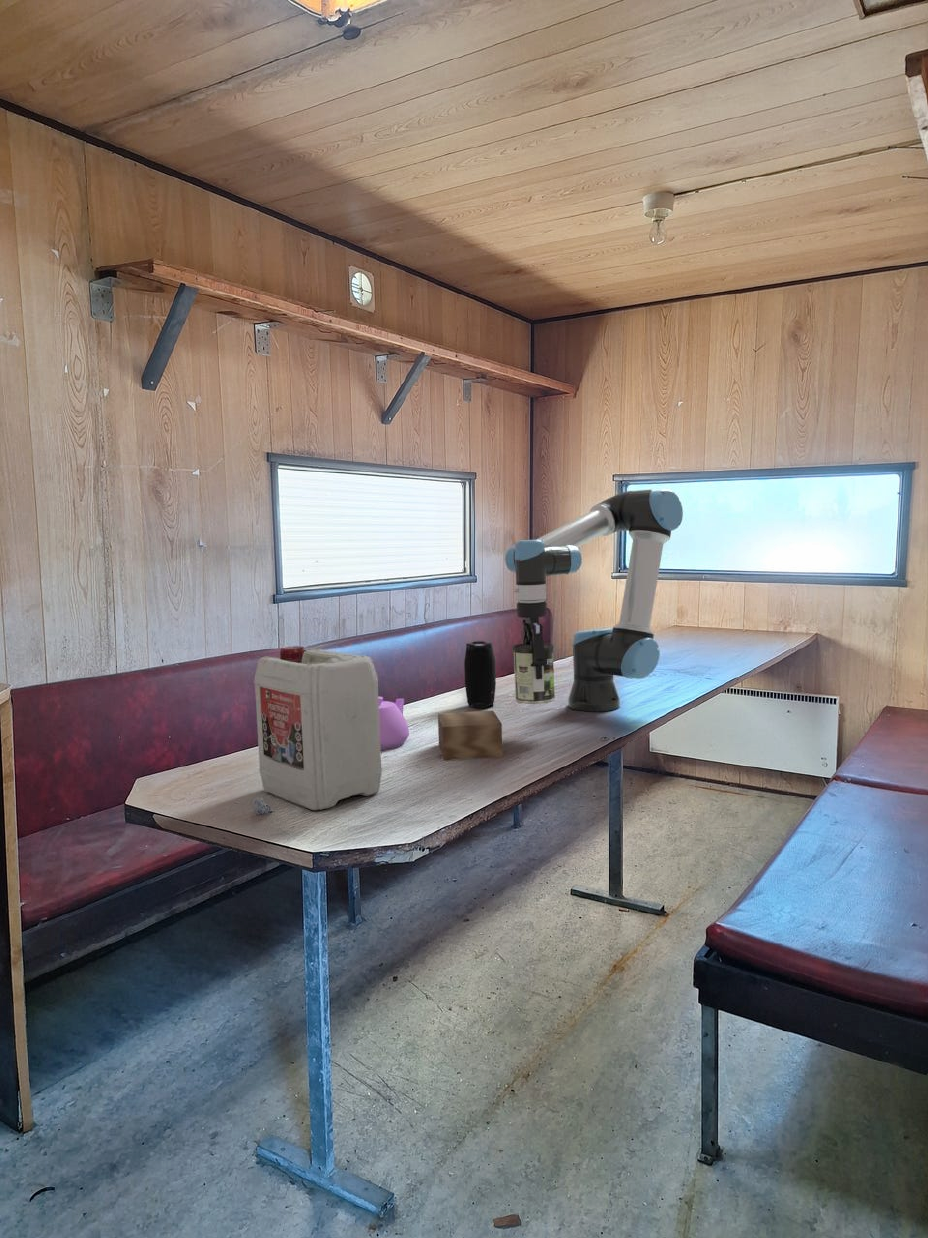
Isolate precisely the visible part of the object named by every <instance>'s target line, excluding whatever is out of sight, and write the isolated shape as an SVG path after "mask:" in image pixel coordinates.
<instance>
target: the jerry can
mask: <svg viewBox="0 0 928 1238" xmlns="http://www.w3.org/2000/svg"><path fill="white" fill-rule="evenodd" d="M279 657H280V658H277V657H271V656H267V655H264V656H262V657H261V658H260V659H258V661H257V666H256V670H255V675H254V680H253V683H254V692H255V708H256V724H257V742H258V744H257V745H258V746H257V747H258V758H259V759H258V760H259V763H258V764H259V768H258V770H259V774H260V775H259V776H260V779H261V783H262V786H263V788H262V789H263V790H264V792H266V793H268V794H271V795H272V796H273V795H274V796H276V797H278V796H279V798H281V797H282V798H281V799H284V800H286V801H288V802H291V803H294V804H296V805H299V806H301V807H304V808H306V809H308V810H312V811H319V810H321V811H322V810H324V809H326V810H327V809H330V808H333V807H334V806H336V805H337V803H338V802H339V801H340V800H343V799H346V798H349V797H351V796H356V795H359V796H363V797H364V796H365V797H369V796H372V795H374V794H376V793H378V792H379V791H380V788H381V782H382V781H381V779H382V773H383V767H382V756H381V750H380V730H379V704H378V696H379V678H378V675H377V671H376V668H375V665H374V662H373V659H372V657H370V656H367V655H364V654H362V655H359V654H353V653H346V652H339V651H333V650H328V649H327V650H326V649H322V648H320V647H319V648H318V647H317V648H315V649H314V648H313V649H310V650H309V649H308V650H305V648H304V646H300V645H299V646H294V645H293V646H287V647H281V648H280V651H279Z"/></svg>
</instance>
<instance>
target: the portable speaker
mask: <svg viewBox="0 0 928 1238" xmlns="http://www.w3.org/2000/svg"><path fill="white" fill-rule="evenodd" d="M465 645H466V648H465V654H464V667H463V669H464V670H463V671H464V688H465V693H466V694H465V695H466V703H467V705H468V707H472V708H473V709H474V708H476V709H475V710H479V709H480V710H481V709H482V710H483V708H484V709H486V708H487V707H488V706H491V707H494V703H495V696H496V685H497V684H496V683H497V681H496V680H497V679H496V659H495V652H494V650H493V642H486V641H484V640H476V641H475V640H473V641H472V642H470V643H468V642H467V643H465Z"/></svg>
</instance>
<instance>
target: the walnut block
mask: <svg viewBox="0 0 928 1238" xmlns="http://www.w3.org/2000/svg"><path fill="white" fill-rule="evenodd" d="M502 725H503V724H502V722H501V720H500V719H499V717H498V715H497V714H496V713H495V711H494V710H482V711H481V710H479V711H477V710H475V711H462V712H461V711H459V712H441V713H437V728H438V746H440V747H439V749H440V753H442V754H441V757H442V760H443V761H449V760H448V759H457V760H470V758H474V759H488V758H489V759H491V758H501V757H504V756H503V729H502V728H503V727H502Z"/></svg>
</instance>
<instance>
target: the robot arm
mask: <svg viewBox="0 0 928 1238" xmlns="http://www.w3.org/2000/svg"><path fill="white" fill-rule="evenodd" d="M683 513H684V511H683V505H682V502H681V500H680V498H679V496H678V494H676V492H675V491H673V490H671V489H669V488H653V489H652V488H651V489H642V490H641V489H637V490H627V491H623V492H621V493H617V494H615V495H613V496H611V497H609V498H606V499H605V500H603V501H601V502H599V503H597V504H594V505H592V507H591V508H590V510H589V511H588V512H587V513H585V514H583V515H581V516H578V517H577V518H575V519H573V520H571V521H569V522H568V523H566V524H563V525H562V526H560V527H558V528H556V529H554V530H552V531H550V532H549V533H546V534H544V535H541V536H540V537H538V538H537V539H523V540H518V541H516V543H515V544H514V545H513V546H511V547H509V548H508V549H507V550H506V553H505V556H504V561H505V566H506V567H507V569H508V570H509V571H510V572H512V573H515V585H516V586H515V587H516V588H514V590H513V591H514V593H516V600H517V601H518V602H517V603H516V615H517V617H519V618H521V619H522V621H521V622H522V644H526V645H531V649H532V658H533V663H531V665H530V666H531V667H532V674H533V692H541V691H544V665H545V663H546V662H545V654H544V643H545V642H544V635H543V634H544V633H543V632H544V631H543V629H544V626H543V624H541V623H540V618H543V617H546V616H547V613H548V612H547V610H548V609H547V604H548V603H547V602H546V601H545V600H547V577H548V576H558V575H559V576H560V575H569V574H573V573H577V572H578V571H579V569H580V568H581V566H582V563H583V562H582V560H583V559H582V558H583V557H582V553H581V550H580V549H579V548H580V547H582V546H584V545H585V544H587V543H589V542H591V541H593V540H594V539H597V538H599V537H601V536H603V537H607V536H610V535H612V534H613V533H618V532H627V531H628V535H629V536H630V537H631V539H632V544H631V551H630V556H629V562H628V568H627V574H626V580H625V585H624V591H623V597H622V605H621V610H620V616H619V622H617V623H616V624H615V625H614V626H612V628H610V627H608V628H596V629H595V628H594V629H586V630H580V631H576V632H575V633H574V635H573V643H572V655H573V656H572V658H573V660H572V661H573V682H572V686H571V690H570V692H569V694H568V695H569V696H568V698H567V699H568V700H567V702H568V707H569V708H570V709H572V710H575V711H582V712H583V711H584V712H605V711H613V710H616V709H619V708H620V705H621V703H620V696H619V693H618V691H617V687H616V684H615V682H614V681H615V680H614V676H616V677H620V678H621V677H623V678H626V679H632V680H633V679H636V680H637V679H638V680H639V679H640V680H642V679H645V678H647V677H649V676H650V675H651V674H652V673H653V672H654V671H655V669H656V668H657V666H658V664H659V660H660V655H661V653H660V652H661V651H660V648H659V645H658V642H657V641H656V640H655V639H654V638H655V637H654V636H655V633H654V632H653V630H652V629H651V621H652V615H653V610H654V603H655V599H656V598H655V597H656V591H657V585H658V579H659V573H660V568H661V567H660V566H661V562H662V555H663V548H664V545H665V544H666V543H667V542H669V541H670V539H671V535H672V531H675V530H677V529H678V528H679V526H681V524H682V522H683V516H684V515H683ZM533 649H534V650H533Z"/></svg>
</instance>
